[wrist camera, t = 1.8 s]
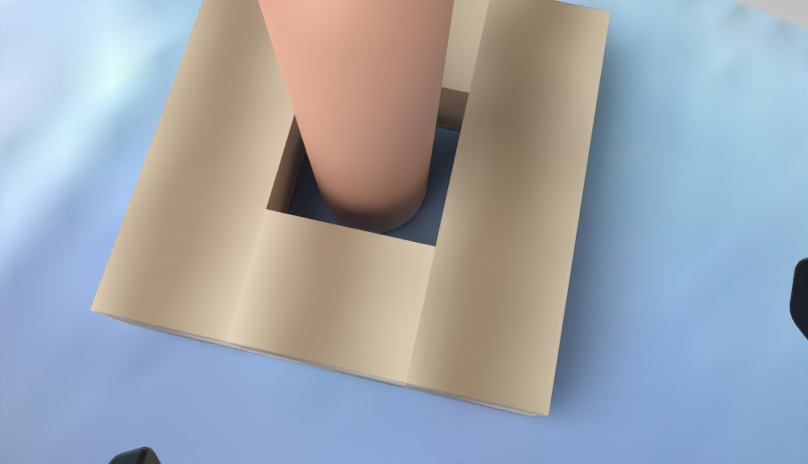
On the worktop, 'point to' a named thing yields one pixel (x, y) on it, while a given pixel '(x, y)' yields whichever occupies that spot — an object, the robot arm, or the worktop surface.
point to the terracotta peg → (364, 98)
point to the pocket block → (360, 250)
